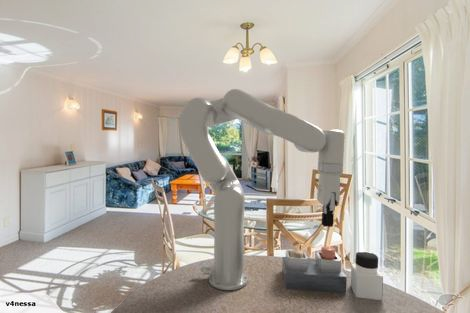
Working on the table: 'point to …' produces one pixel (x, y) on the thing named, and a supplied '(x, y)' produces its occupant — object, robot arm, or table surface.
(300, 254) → the beige ball
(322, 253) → the red plunger
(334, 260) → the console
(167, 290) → the table surface
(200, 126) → the robot arm
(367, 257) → the medicine bottle
